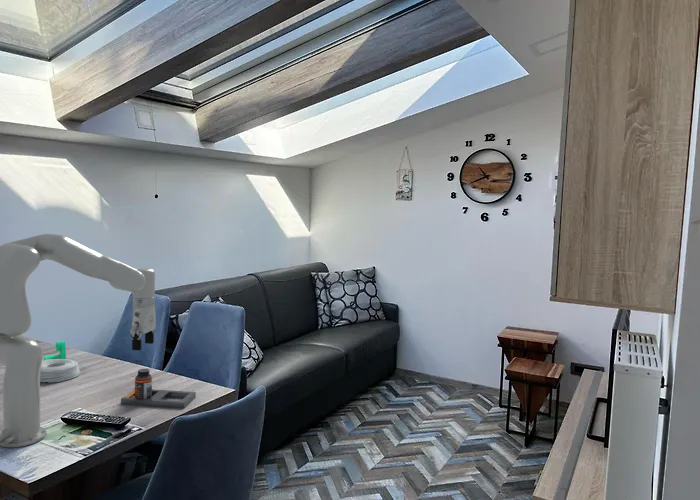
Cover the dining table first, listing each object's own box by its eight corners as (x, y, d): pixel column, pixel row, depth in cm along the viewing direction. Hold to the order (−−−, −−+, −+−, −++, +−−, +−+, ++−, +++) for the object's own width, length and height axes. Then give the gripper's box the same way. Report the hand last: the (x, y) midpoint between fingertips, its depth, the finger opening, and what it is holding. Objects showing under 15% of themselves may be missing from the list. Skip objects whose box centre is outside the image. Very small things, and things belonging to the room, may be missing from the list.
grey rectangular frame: (184, 408, 182) (184, 402, 182) (120, 404, 183) (120, 398, 183) (195, 397, 193) (195, 392, 193) (135, 393, 194) (135, 388, 194)
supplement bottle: (131, 400, 187) (131, 370, 186) (144, 395, 192) (144, 366, 191) (142, 403, 184) (142, 373, 183) (155, 398, 189) (155, 369, 189)
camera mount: (43, 361, 229) (43, 339, 228) (62, 359, 233) (62, 337, 233) (46, 368, 219) (46, 345, 218) (66, 366, 224) (66, 343, 223)
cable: (29, 374, 211) (29, 360, 211) (75, 368, 222) (75, 354, 221) (33, 387, 197) (33, 372, 197) (83, 379, 208) (83, 365, 208)
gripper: (142, 306, 177) (141, 353, 178) (163, 298, 194) (163, 341, 195) (121, 305, 177) (121, 352, 179) (145, 297, 195) (144, 340, 196)
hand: (143, 346), depth 187 cm, fingers open, 9 cm apart
